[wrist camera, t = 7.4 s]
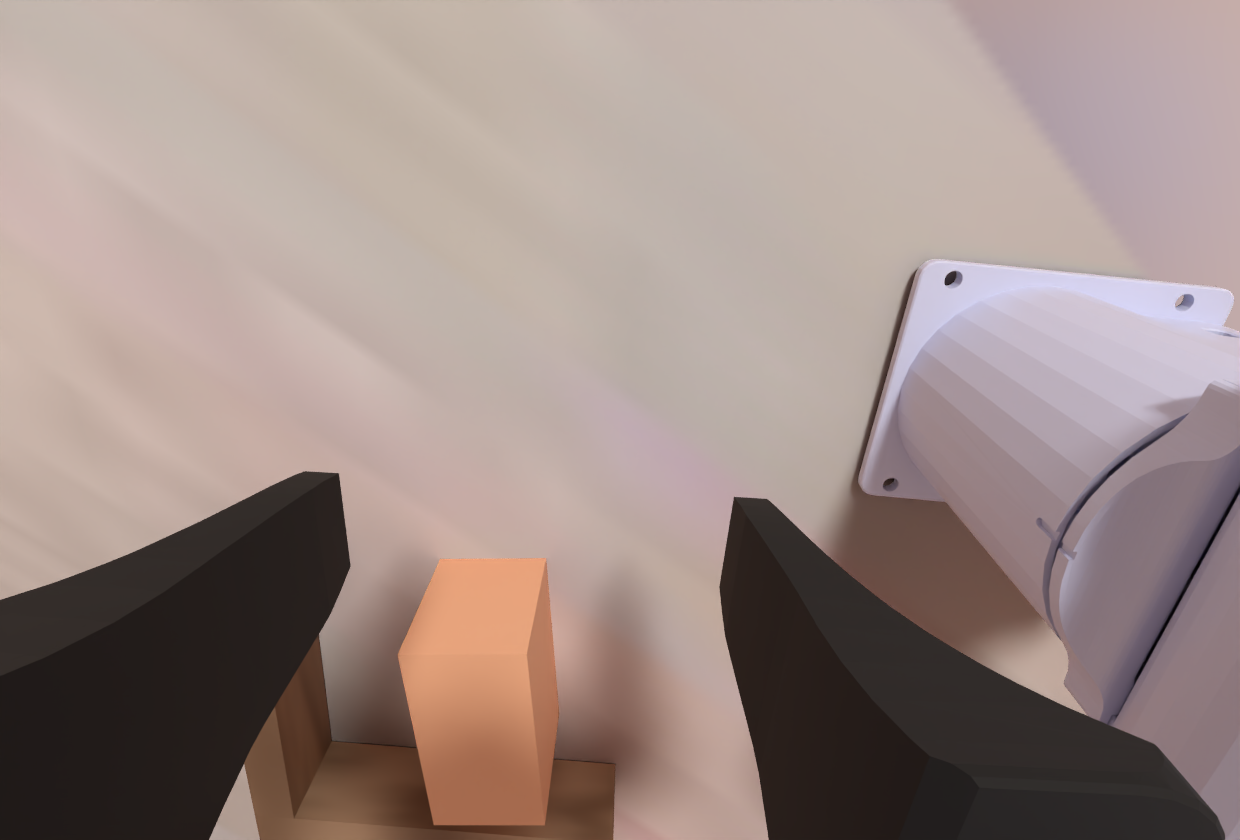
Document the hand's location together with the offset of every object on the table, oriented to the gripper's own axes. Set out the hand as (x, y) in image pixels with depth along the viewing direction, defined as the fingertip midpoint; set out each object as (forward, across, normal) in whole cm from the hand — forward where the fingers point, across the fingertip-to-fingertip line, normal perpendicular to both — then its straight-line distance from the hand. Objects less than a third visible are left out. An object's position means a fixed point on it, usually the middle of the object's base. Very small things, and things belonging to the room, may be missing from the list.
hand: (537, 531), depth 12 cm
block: (+10, +2, +12) cm, 16 cm away
